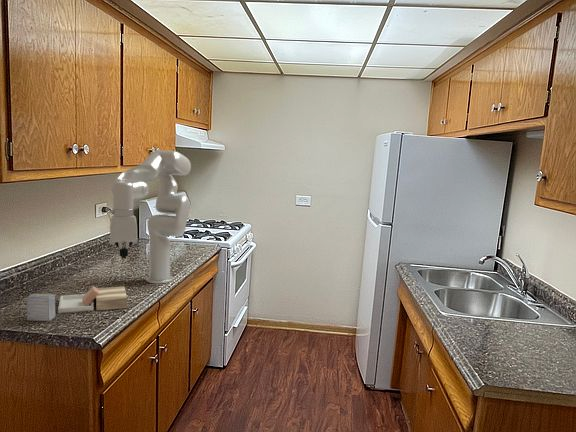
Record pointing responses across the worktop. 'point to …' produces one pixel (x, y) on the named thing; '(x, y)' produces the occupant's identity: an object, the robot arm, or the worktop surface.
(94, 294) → the tile
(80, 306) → the box
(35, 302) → the medicine box
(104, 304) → the beige rectangular block
